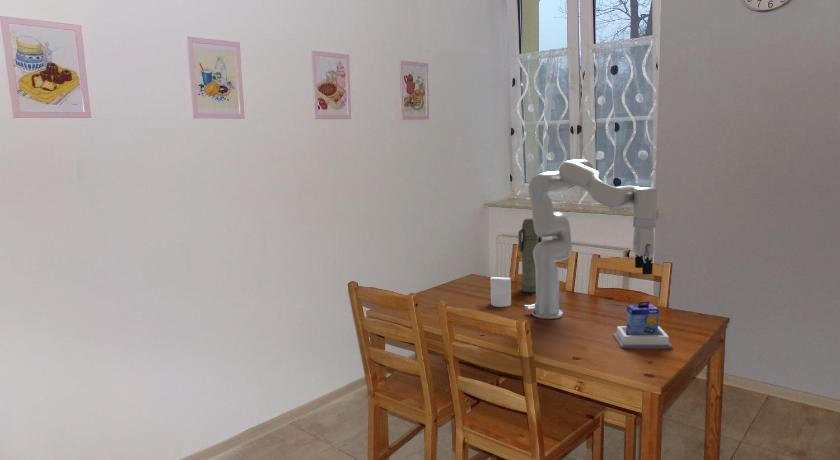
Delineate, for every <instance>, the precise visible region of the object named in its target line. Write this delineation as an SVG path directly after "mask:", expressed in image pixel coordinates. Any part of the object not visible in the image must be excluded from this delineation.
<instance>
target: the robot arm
mask: <svg viewBox="0 0 840 460" xmlns="http://www.w3.org/2000/svg"><path fill="white" fill-rule="evenodd" d="M574 187H577V188H580V189H582V190H583V191H585V192H588V195H589V196H590V197H591V198H592V199H593V200H594V201H596V202H597V203H599V204H601V205H604V206H606V207H607V208H611V209H622V208H627V207H633V214H632V215H633V217H632V220H633V221H632V224H633V225H632V227H633V228H634V230H633V237H632V238H633V241H632V242H633V243H632V251H633V253H634V254H635V255H634V256H635V257H634V259H635V260H634V268H635V269H642V272H641V273H642V275H653V271H654V270H653V263H654V260H653V259H654V257H653V256H654V253H655V230H654V229H656V228H657V219H658V218H657V216H658V215H657V213H658V211H657V210H658V189H656V188H655V187H652V186H651V187H650V186H642V187H641V186H639V185H638V186H637V185H632V184H631V185H621V186H613V185H610V184H609V183H605V182H604V181H603V175H602V172H601V171H599V170H597V169H594V166H593V164H592V163H591V161H589V160H588V159H585V158H584V159H583V158H581V159H579V158H578V159H570V160H566V161H564V162H563V163H561V164H560V166H559V168H558V170H555V171H554V170H553V171H544V172H541V173H537V174H536V175H534V176H533V177H532V178H531V179H530V182H529V184H528V195H529V200H530V203H531V212H532V213H531V214H532V219H533V223H534V230H535V233H536V235H537V236H539V237H542V238H549V237H551V239H547V240H542V242H539V243H538V244H537V245H536V246H535V247H534V249H533V257H534V262H535V270H536V292H535V302H534V303H532V304H524V310H527V311H529V312H531V311H532V312H531V313H532V315H533V316H534V317H535V318H539V319H545V320H551V319H552V320H553V319H559V318H562V317H563V316H564V312H563V310H561V309H560V273H559V269H558V266H557V264H556V263H557V262H561V261H565V260H567V259H569V258H570V256H571V254H572V251H573V245H572V244H573V243H572V236H571V235H572V234H571V226H570V222H569V219H568V218H567V216H566V215H565V214H564V213H563V212H554V205H553V201H552V198H551V197H550V195H548V194H550V193H557V192H565V191H569V190H571V189H573V188H574Z"/></svg>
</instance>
